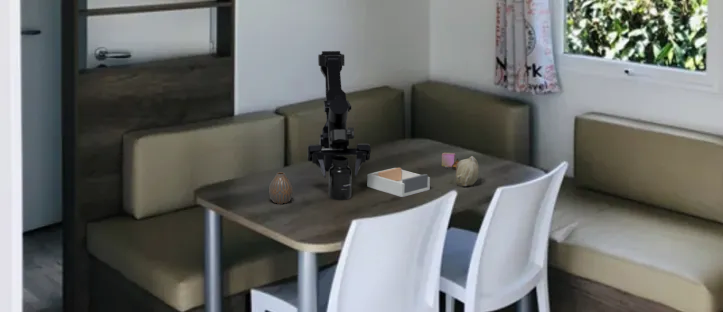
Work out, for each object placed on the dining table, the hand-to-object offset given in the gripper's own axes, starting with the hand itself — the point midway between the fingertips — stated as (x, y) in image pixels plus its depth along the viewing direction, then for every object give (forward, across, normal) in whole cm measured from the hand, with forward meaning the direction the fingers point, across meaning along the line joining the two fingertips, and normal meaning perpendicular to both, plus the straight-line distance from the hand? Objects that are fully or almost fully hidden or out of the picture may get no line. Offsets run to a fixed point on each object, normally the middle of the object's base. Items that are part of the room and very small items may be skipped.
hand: (340, 176), depth 287 cm
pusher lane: (-2, +19, +12) cm, 22 cm away
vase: (+6, -18, +3) cm, 19 cm away
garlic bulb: (-3, +40, +13) cm, 43 cm away
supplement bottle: (+4, 0, +6) cm, 7 cm away
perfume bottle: (-20, +42, +30) cm, 55 cm away
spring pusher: (-6, +16, +14) cm, 22 cm away
